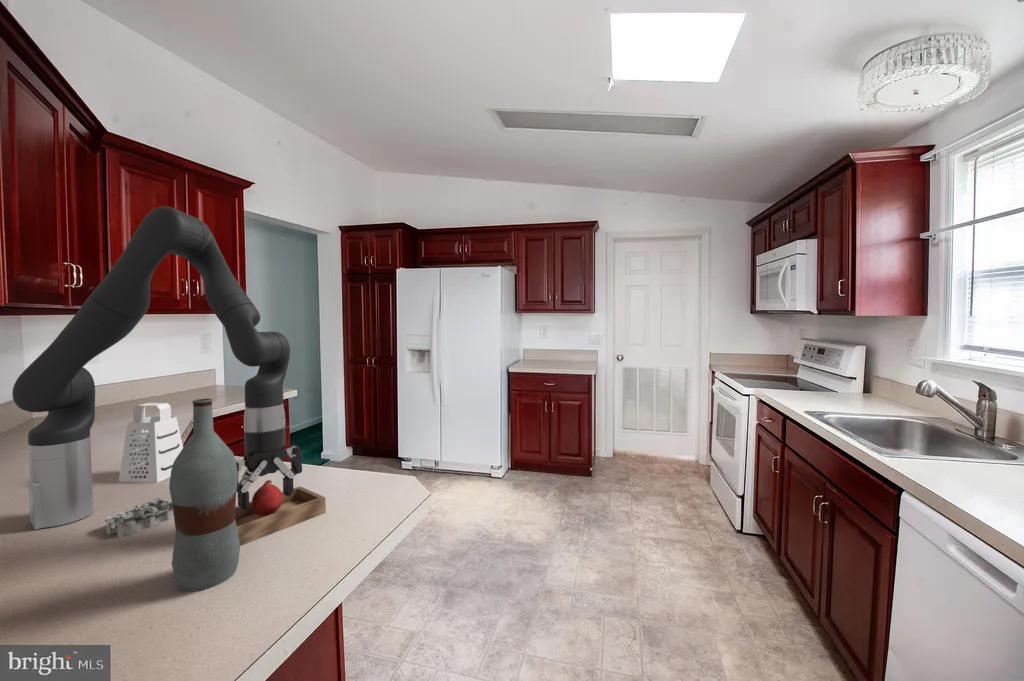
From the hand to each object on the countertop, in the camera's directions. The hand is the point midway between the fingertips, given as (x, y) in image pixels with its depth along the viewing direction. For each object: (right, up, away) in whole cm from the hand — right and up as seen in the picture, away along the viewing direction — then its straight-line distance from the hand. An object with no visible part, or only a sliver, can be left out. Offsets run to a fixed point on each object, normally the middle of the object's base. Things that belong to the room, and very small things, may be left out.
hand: (266, 501), depth 91 cm
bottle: (+1, -6, -19) cm, 20 cm away
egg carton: (-26, -5, 0) cm, 27 cm away
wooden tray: (0, -5, 0) cm, 5 cm away
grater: (-47, -4, +28) cm, 55 cm away
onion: (0, -4, 0) cm, 4 cm away
